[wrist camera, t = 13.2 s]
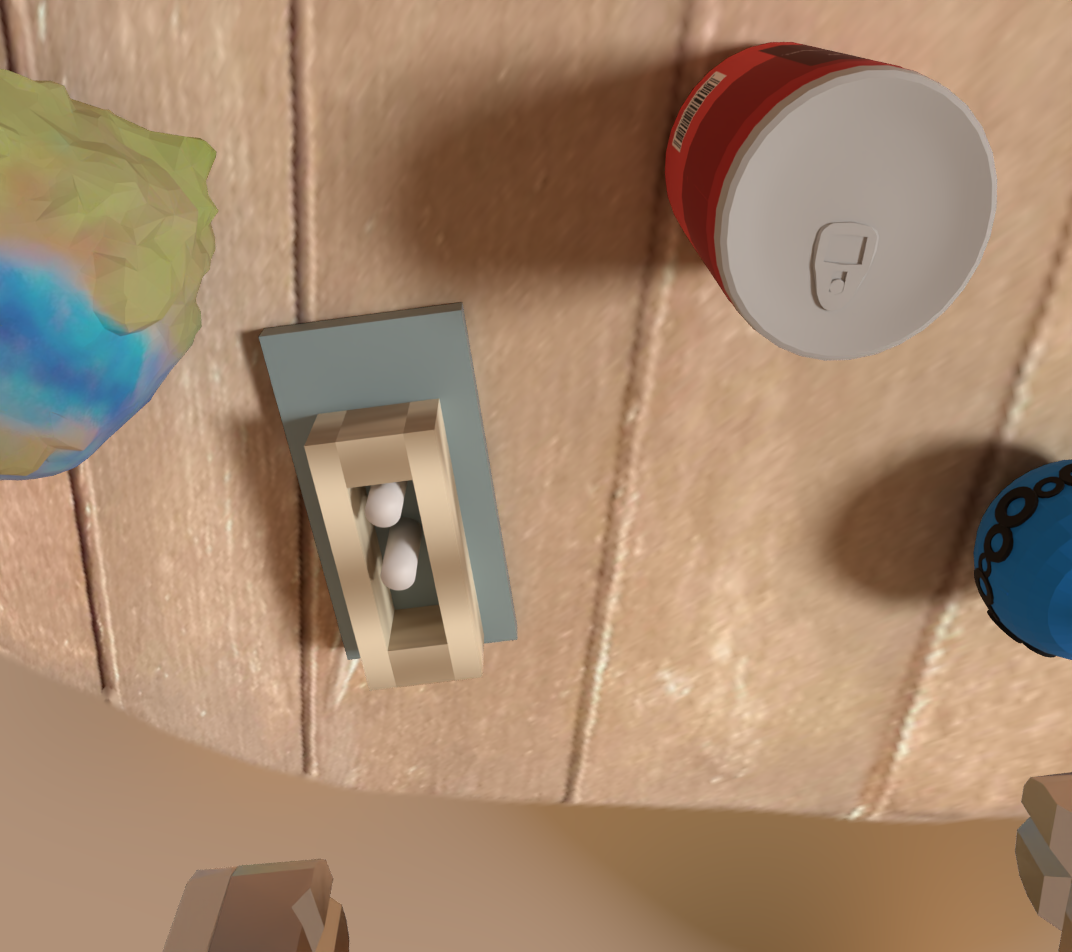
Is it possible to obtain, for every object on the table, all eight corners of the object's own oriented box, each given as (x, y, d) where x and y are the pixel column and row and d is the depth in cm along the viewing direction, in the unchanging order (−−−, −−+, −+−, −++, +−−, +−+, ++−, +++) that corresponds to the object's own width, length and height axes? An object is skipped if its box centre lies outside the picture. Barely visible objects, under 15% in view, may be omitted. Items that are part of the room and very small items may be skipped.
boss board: (264, 328, 38) (236, 369, 34) (462, 302, 38) (457, 340, 34) (351, 646, 46) (336, 710, 42) (517, 626, 45) (518, 689, 42)
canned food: (673, 279, 38) (731, 385, 28) (647, 63, 34) (703, 99, 24) (868, 242, 37) (995, 337, 28) (863, 19, 34) (1008, 39, 24)
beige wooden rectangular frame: (317, 414, 39) (304, 446, 36) (439, 398, 39) (434, 429, 36) (377, 647, 45) (369, 690, 42) (483, 635, 44) (482, 677, 42)
